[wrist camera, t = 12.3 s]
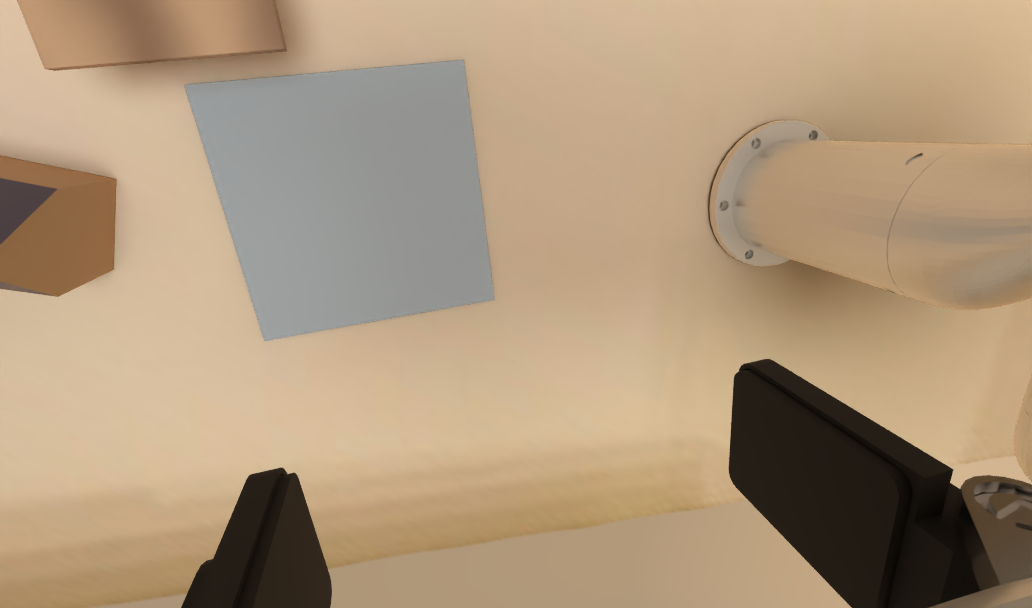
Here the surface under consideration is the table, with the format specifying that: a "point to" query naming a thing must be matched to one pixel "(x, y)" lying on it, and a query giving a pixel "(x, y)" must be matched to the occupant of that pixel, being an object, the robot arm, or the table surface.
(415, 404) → the table surface
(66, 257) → the toy building blocks
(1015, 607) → the robot arm
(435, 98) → the mat
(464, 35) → the table surface
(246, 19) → the lid
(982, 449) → the table surface
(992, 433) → the table surface
